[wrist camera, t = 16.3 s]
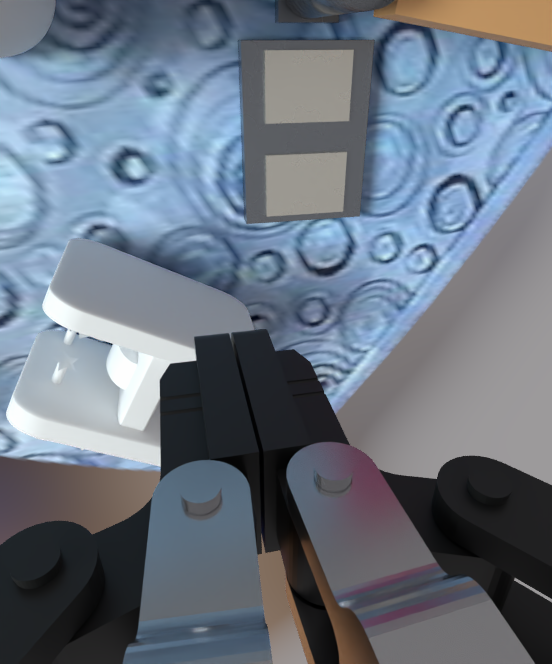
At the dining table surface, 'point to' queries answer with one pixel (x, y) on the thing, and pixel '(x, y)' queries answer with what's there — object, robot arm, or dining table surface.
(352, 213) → the label plate
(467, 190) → the dining table surface
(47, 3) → the milk bottle
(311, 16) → the post
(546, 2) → the swing bar
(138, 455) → the cable organizer
